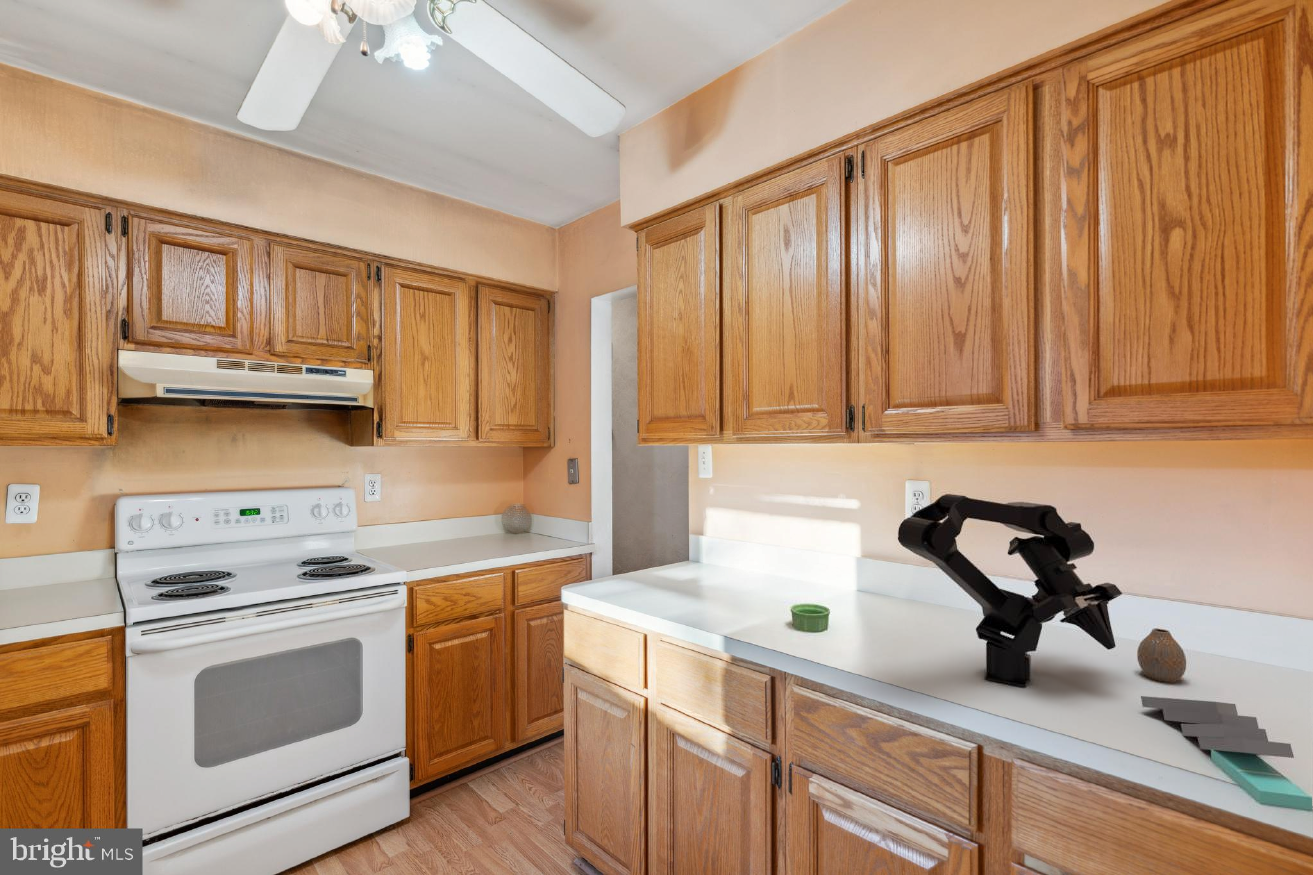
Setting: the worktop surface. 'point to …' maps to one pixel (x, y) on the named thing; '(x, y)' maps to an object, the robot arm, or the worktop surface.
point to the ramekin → (810, 617)
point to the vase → (1161, 656)
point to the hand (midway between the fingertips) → (1112, 648)
